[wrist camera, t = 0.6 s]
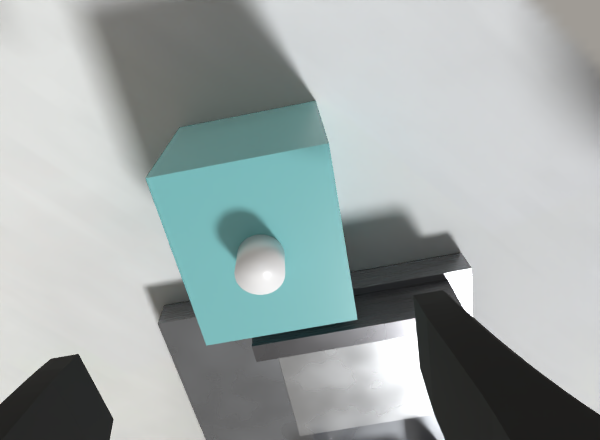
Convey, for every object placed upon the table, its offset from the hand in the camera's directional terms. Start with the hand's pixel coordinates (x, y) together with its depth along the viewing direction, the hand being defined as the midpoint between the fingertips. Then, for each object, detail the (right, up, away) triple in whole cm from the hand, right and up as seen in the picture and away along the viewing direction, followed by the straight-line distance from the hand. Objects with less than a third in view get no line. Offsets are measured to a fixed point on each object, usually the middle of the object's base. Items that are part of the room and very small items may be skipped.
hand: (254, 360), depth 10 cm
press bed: (+3, -6, +14) cm, 15 cm away
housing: (0, +4, +8) cm, 9 cm away
